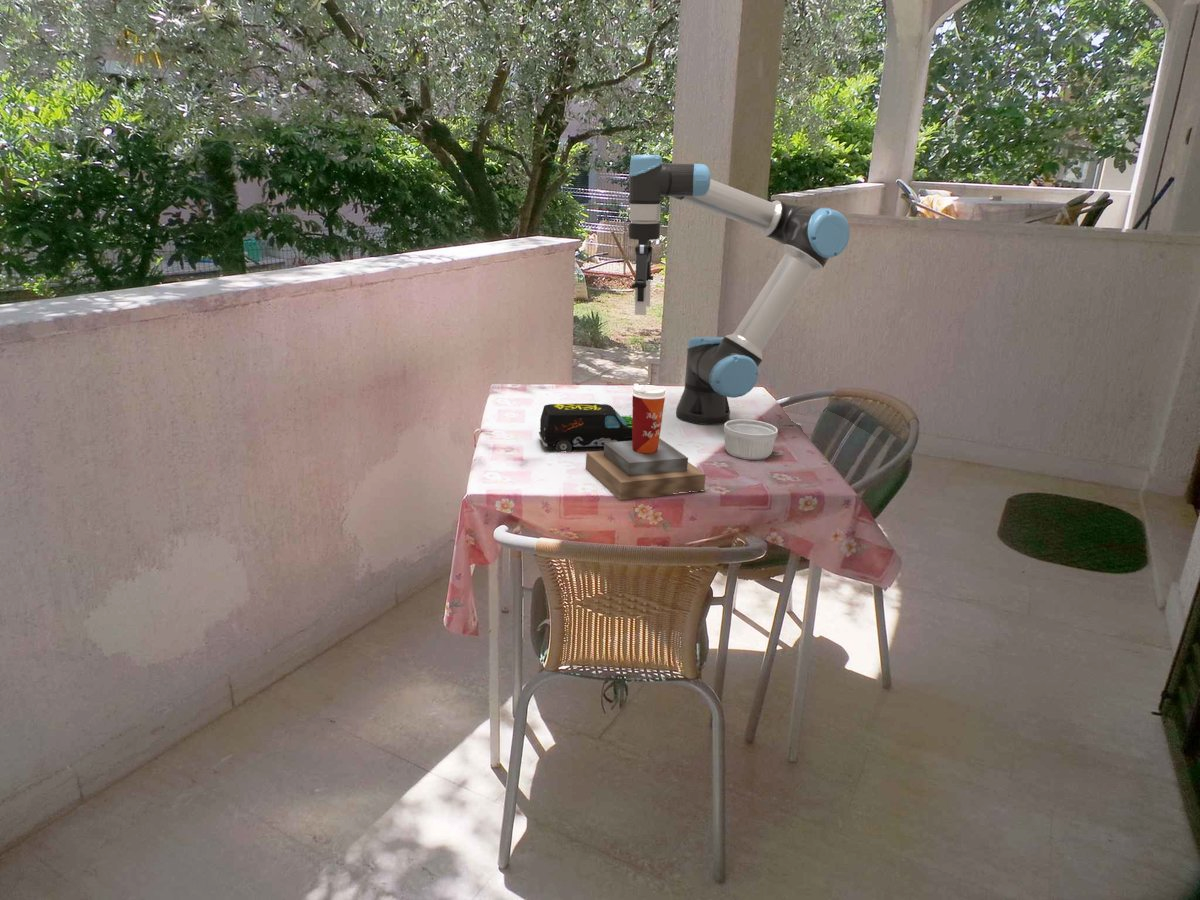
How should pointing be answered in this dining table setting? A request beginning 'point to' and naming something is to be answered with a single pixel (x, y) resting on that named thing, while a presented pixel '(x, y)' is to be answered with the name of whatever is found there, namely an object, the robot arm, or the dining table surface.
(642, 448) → the paper cup
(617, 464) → the two-tone square platform
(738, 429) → the ramekin
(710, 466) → the dining table surface
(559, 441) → the toy van
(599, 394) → the dining table surface
